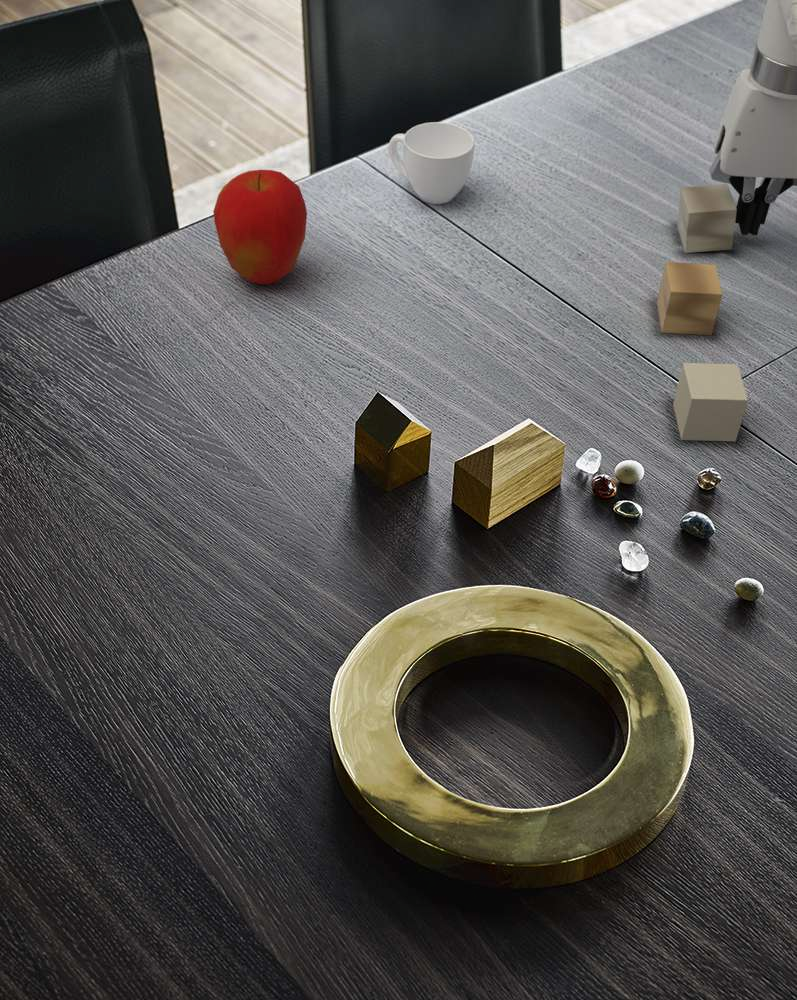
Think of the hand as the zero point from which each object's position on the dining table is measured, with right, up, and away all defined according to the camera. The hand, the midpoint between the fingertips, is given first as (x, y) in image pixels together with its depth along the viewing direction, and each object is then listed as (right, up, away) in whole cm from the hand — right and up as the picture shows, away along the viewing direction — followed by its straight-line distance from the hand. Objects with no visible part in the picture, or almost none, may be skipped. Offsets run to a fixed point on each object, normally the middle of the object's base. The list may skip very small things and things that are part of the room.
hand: (746, 227), depth 135 cm
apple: (-51, -6, -6) cm, 52 cm away
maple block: (-9, -11, -9) cm, 17 cm away
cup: (-34, +5, +6) cm, 35 cm away
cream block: (-10, -22, -20) cm, 31 cm away
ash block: (-4, -1, +1) cm, 5 cm away
